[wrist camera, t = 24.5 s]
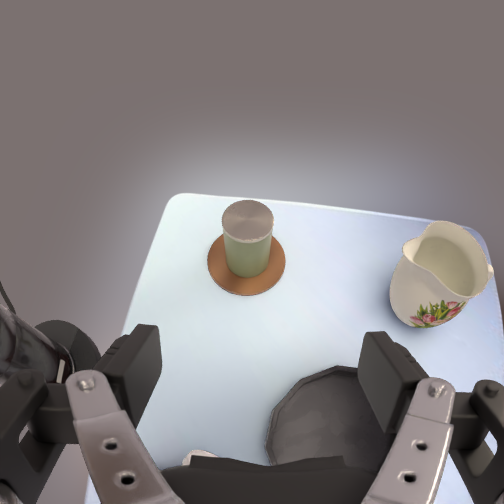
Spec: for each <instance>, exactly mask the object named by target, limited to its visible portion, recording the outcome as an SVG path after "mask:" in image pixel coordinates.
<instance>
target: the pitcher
mask: <svg viewBox="0 0 504 504" xmlns="http://www.w3.org/2000/svg"><path fill="white" fill-rule="evenodd" d="M402 252H403V256H402V258H401V259H400V261H399V262H398V264H397V266H396V268H395V271H394V273H393V276H392V279H391V284H390V302H391V306H392V309H393V311H394V312H395V314H396V316H397V317H398V318H399V319H400V320H401V321H402V322H404V323H405V324H407V325H409V326H412V327H417V328H429V327H434V326H438V325H441V324H443V323H445V322H447V321H449V320H451V319H452V318H453V317H455V316H456V315H457V314H458V313H460V312H461V310H462V309H463V308H464V307H465V306H466V304H467V302H468V301H469V299H471V298H473V297H475V296H477V295H479V294H480V293H481V292H482V291H483V290H484V289H485V287H486V285H487V283H488V282H489V281H490V279H491V278H492V276H493V273H494V272H493V268H492V266H491V265H489V264H488V263H487V259H486V256H485V254H484V252H483V250H482V248H481V246H480V245H479V243H478V242H477V241H476V239H475V238H474V237H473V236H472V235H471V234H470V233H469V232H468V231H466V230H465V229H464V228H462V227H460V226H459V225H456V224H454V223H451V222H447V221H436V222H433V223H431V224H429V225H428V226H427V227H426V229H425V230H424V232H423V234H422V235H421V236H419V237H416V238H413V239H411V240H409V241H407V242H406V243H404V245H403V247H402Z"/></svg>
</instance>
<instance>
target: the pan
mask: <svg viewBox="0 0 504 504" xmlns="http://www.w3.org/2000/svg"><path fill="white" fill-rule="evenodd" d="M357 370H358V368H353V367H345V366H338V365H337V366H334V367H332V368H329V369H326V370H324V371H321V372H319V373H316V374H313V375H311V376H308V377H305V378H303V379H301V380H300V381H298V382H297V383H296V385H295V386H294V387H293V388H292V389H291V390H290V391H289V392H288V394H287V395H286V396H285V397H284V398H283V399H282V400H281V401H280V403H279V404H278V405H277V406H276V407H275V408H274V409H273V410H272V413H271V418H270V423H269V427H268V432H267V436H266V441H265V445H264V447H265V450H266V453H267V455H268V458H269V461H270V463H271V466H275V465H280V464H284V463H289V462H293V461H298V460H302V459H306V458H319V457H331V456H341V455H343V458H344V462H345V465H348V466H355V467H360V468H364V469H367V470H370V471H373V472H375V473H377V474H378V473H379V471H380V469H381V467H382V465H383V463H384V461H385V459H386V457H387V455H388V453H389V451H390V449H391V447H392V445H393V443H394V441H395V439H396V436H397V433H392V434H386V435H384V433H383V431H382V428H381V426H380V424H379V422H378V420H377V418H376V416H375V413H374V411H373V409H372V407H371V405H370V403H369V401H368V399H367V397H366V394H365V392H364V390H363V388H362V386H361V384H360V382H359V380H358V373H357Z"/></svg>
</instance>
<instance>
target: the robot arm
mask: <svg viewBox="0 0 504 504" xmlns="http://www.w3.org/2000/svg"><path fill="white" fill-rule="evenodd" d="M0 292H1V294H2V296H3V298H4V300H5V302H6V303H7V305H8V307H9V309H10V310H9V309H7V308H6V307H5V306H3V305H1V304H0V386H1V387H0V504H36V502H37V500H38V498H39V496H40V494H41V492H42V490H43V488H44V486H45V484H46V482H47V480H48V478H49V476H50V474H51V472H52V470H53V468H54V466H55V464H56V462H57V460H58V458H59V456H60V454H61V452H62V451H63V449H64V447H65V445H66V444H79V445H80V448H81V451H82V454H83V457H84V460H85V463H86V466H87V468H88V471H89V474H90V477H91V479H92V482H93V484H94V487H95V490H96V492H97V494H98V497H99V499H100V502H101V504H433V503H434V500H435V497H436V494H437V491H438V488H439V484H440V481H441V478H442V474H443V471H444V467H445V463H446V459H447V455H448V452H449V454H450V456H451V458H452V460H453V462H454V464H455V466H456V468H457V469H458V471H459V473H460V475H461V477H462V479H463V481H464V483H465V485H466V487H467V489H468V492H469V494H470V496H471V498H472V500H473V502H474V504H504V386H503V385H501V384H500V383H498V382H496V381H492V380H480V381H478V382H477V383H476V384H475V386H474V389H473V391H472V393H466V392H455V389H454V387H453V386H452V385H451V384H450V383H449V382H447V381H446V380H443V379H440V378H434V377H429V376H428V375H427V373H426V372H425V371H424V370H423V368H422V367H421V366H420V365H419V363H418V362H416V360H415V359H414V357H413V356H412V355H411V354H410V353H409V351H408V350H407V349H406V348H405V347H403V346H401V345H400V344H398V343H396V342H395V343H394V342H393V341H392V339H391V338H390V337H389V336H388V334H387V333H386V332H385V331H380V332H366V334H365V336H364V339H363V344H362V349H361V354H360V359H359V363H358V370H357V373H358V380H359V382H360V384H361V386H362V388H363V390H364V392H365V394H366V397H367V399H368V401H369V403H370V405H371V407H372V409H373V411H374V413H375V416H376V418H377V420H378V422H379V424H380V426H381V428H382V431H383V433H384V435H386V434H392V433H397V436H396V439H395V441H394V443H393V445H392V447H391V449H390V451H389V453H388V455H387V457H386V459H385V461H384V463H383V465H382V467H381V469H380V471H379V473H378V474H377V473H375V472H373V471H370V470H367V469H364V468H360V467H355V466H348V465H345V462H344V458H343V455H341V456H331V457H319V458H306V459H302V460H298V461H293V462H289V463H284V464H280V465H275V466H263V465H258V464H253V463H248V462H244V461H239V460H235V459H231V458H221V457H208V456H198V455H191V460H190V464H189V465H182V466H176V467H172V468H168V469H165V470H162V471H159V469H158V467H157V466H156V464H155V463H154V461H153V459H152V458H151V456H150V454H149V453H148V451H147V449H146V448H145V446H144V444H143V442H142V441H141V439H140V437H139V435H138V434H137V432H136V428H137V426H138V423H139V421H140V419H141V417H142V414H143V412H144V410H145V408H146V406H147V403H148V401H149V399H150V397H151V395H152V392H153V390H154V388H155V386H156V384H157V381H158V379H159V377H160V375H161V370H162V356H161V346H160V336H159V329H158V327H157V326H155V325H145V324H138V325H137V326H136V327H135V329H134V330H133V331H132V332H131V334H130V335H123V336H122V337H120V338H118V339H116V340H115V341H114V343H113V344H112V345H111V346H110V348H109V349H108V350H107V351H106V352H105V354H104V355H103V356H102V357H101V358H100V360H99V361H98V362H97V363H96V365H95V366H94V367H93V368H92V370H82V371H78V372H76V365H75V361H74V359H73V356H72V354H71V353H70V351H69V350H68V349H67V348H66V347H65V346H63V345H62V344H60V343H58V342H56V341H54V340H52V339H51V338H49V337H48V336H46V335H45V334H43V333H42V332H40V331H39V330H37V329H36V328H34V327H33V326H31V325H30V324H28V323H27V322H25V321H24V320H22V319H21V318H20V317H18V316H17V315H16V313H15V310H14V307H13V305H12V304H11V302H10V300H9V298H8V297H7V295H6V293H5V291H4V289H3V287H2V284H1V282H0ZM26 425H27V427H28V429H29V430H28V432H27V433H26V435H25V436H24V437H23V439H22V440H21V442H20V443H19V435H20V433H21V431H22V430H23V428H24V427H25V426H26ZM489 431H490V432H491V433H492V435H493V436H494V438H495V439H496V441H497V452H496V454H495V456H494V454H493V453H492V451H491V450H490V448H489V447H488V445H487V443H486V442H485V440H484V439H485V437H486V435H487V434H488V432H489Z"/></svg>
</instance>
